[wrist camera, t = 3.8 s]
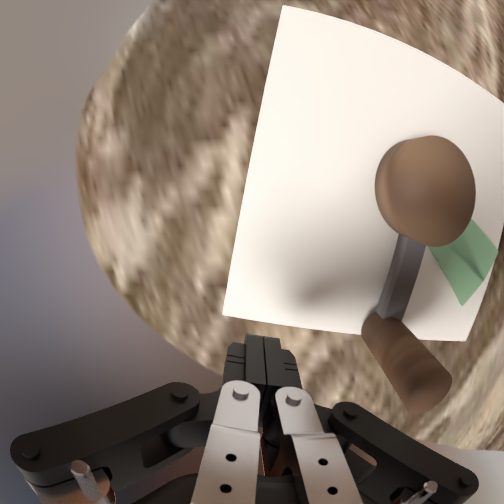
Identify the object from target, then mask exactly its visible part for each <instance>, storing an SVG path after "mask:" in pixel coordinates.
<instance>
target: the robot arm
mask: <svg viewBox="0 0 504 504" xmlns="http://www.w3.org/2000/svg"><path fill="white" fill-rule="evenodd" d="M258 427H263V433H262V435H261V438H260V432H257V430H258ZM259 444H260V446H261V453H262V460H263V467H264V473H265V476H262V475H258V474H257V470H258V458H259ZM352 444H354V445H355V446H357V447H358V448H360V449H361V450H363V451H364V452H366V453H367V454H368V455H370V456H371V457H373V458H374V459H375V460H376V462H377V466H374V465H372V464H370V463H369V462H367V461H366V460H364V459H363V458H361V457H360V456H358V455H357V454H356V453H354V452H353V451H351V450H350V449H349V448H350V446H351V445H352ZM203 446H206V447H205V451H204V454H203V458H202V462H201V466H200V470H199V473H194V474H188V475H184V476H181V477H178V478H176V479H173V480H172V481H169V482H168V483H166V484H164V485H163V486H161V487H160V488H158V489H156V490H155V491H153V492H151V493H150V494H148V495H146V496H144V497H143V498H141V499H139V500H137V501H136V502H134V503H132V504H463V503H464V502H465V501H466V500H467V499H469V498H470V497H471V496H472V495H473V494H474V493H475V492H476V491H477V489H478V486H479V482H478V478H477V476H476V475H475V474H474V473H473V472H472V471H470V470H469V469H466V468H465V467H463V466H461V465H459V464H457V463H455V462H453V461H451V460H450V459H448V458H446V457H444V456H442V455H440V454H439V453H437V452H435V451H433V450H431V449H430V448H428V447H426V446H424V445H423V444H421V443H419V442H417V441H416V440H414V439H412V438H411V437H409V436H407V435H405V434H404V433H402V432H400V431H399V430H397V429H396V428H394V427H392V426H391V425H389V424H387V423H386V422H384V421H383V420H381V419H379V418H378V417H376V416H375V415H373V414H371V413H370V412H368V411H367V410H365V409H364V408H362V407H361V406H359V405H357V404H355V403H352V402H340V403H337V404H336V405H335V406H334V407H333V409H329V408H326V407H322V406H319V405H316V404H314V403H313V401H312V398H311V396H310V395H309V394H308V393H307V392H305V391H304V390H303V389H302V385H301V381H300V376H299V372H298V368H297V365H296V360H295V357H294V355H293V354H292V353H291V352H290V351H289V350H284V349H281V345H280V339H279V338H273V337H266V336H263V337H262V336H259V335H253V334H246V336H245V341H244V344H241V343H235V342H233V343H232V344H231V345H230V346H229V347H228V350H227V356H226V361H225V367H224V372H223V380H222V387H221V388H220V389H219V390H217V391H215V392H213V393H207V394H199V392H198V390H197V389H195V388H194V387H193V386H191V385H189V384H186V383H181V382H173V383H169V384H166V385H164V386H161V387H159V388H156V389H154V390H152V391H149V392H147V393H144V394H142V395H139V396H137V397H134V398H132V399H130V400H127V401H124V402H122V403H119V404H117V405H114V406H111V407H109V408H105V409H103V410H100V411H97V412H94V413H91V414H88V415H86V416H83V417H80V418H77V419H73V420H70V421H68V422H64V423H61V424H58V425H54V426H51V427H48V428H44V429H41V430H38V431H34V432H30V433H27V434H23V435H20V436H18V437H17V438H15V439H14V441H13V442H12V444H11V447H10V454H11V457H12V459H13V461H14V463H15V464H16V466H17V467H18V468H19V470H20V471H21V474H22V475H23V477H24V478H25V480H26V481H27V482H28V484H29V485H30V486H31V488H32V489H33V490H34V491H35V493H36V494H37V495H38V497H39V499H40V500H41V502H42V504H115V494H114V492H116V491H118V490H120V489H122V488H125V487H127V486H129V485H131V484H133V483H135V482H137V481H139V480H141V479H143V478H145V477H147V476H149V475H151V474H153V473H154V472H156V471H158V470H160V469H162V468H164V467H165V466H167V465H169V464H171V463H172V462H174V461H176V460H178V459H179V458H181V457H183V456H184V455H186V454H188V453H189V452H191V451H192V450H193V449H194V447H203Z"/></svg>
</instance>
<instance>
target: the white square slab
mask: <svg viewBox="0 0 504 504" xmlns="http://www.w3.org/2000/svg"><path fill="white" fill-rule="evenodd" d="M430 135H433V136H440V137H443V138H446V139H448V140H450V141H451V142H453V143H454V144H455V145H456V146H457V147H458V148H459V149H460V150H461V151H462V152H463V153H464V155H465V156H466V158H467V160H468V162H469V164H470V166H471V169H472V171H473V175H474V179H475V186H476V200H475V207H474V211H473V215H472V217H471V220H470V222H469V224H468V226H467V228H466V229H465V231H464V232H463V233H462V234H461V235H460V236H459V237H458V238H457V239H456V240H455V241H453V242H451V243H450V244H447V245H445V246H440V247H431V246H426V248H425V252H424V255H423V259H422V262H421V266H420V269H419V272H418V276H417V279H416V282H415V285H414V288H413V291H412V294H411V297H410V300H409V303H408V305H407V308H406V311H405V314H404V316H403V319H402V322H403V323H404V325H405V326H406V327H407V328H408V329H409V330H410V331H411V332H412V333H413V334H414V335H415V336H416V337H417V338H418V339H424V340H445V341H466V339H467V336H468V334H469V332H470V330H471V327H472V325H473V322H474V320H475V318H476V315H477V312H478V310H479V307H480V305H481V302H482V299H483V296H484V293H485V291H486V288H487V285H488V281H489V278H490V275H491V272H492V268H493V265H494V261H495V259H496V256H497V254H498V252H499V251H498V246H499V242H500V238H501V233H502V229H503V224H504V103H503V102H501V101H500V100H499V99H497V98H496V97H495V96H493V95H492V94H491V93H489V92H488V91H486V90H485V89H484V88H482V87H481V86H479V85H478V84H476V83H475V82H473V81H472V80H470V79H469V78H467V77H466V76H464V75H463V74H461V73H459V72H458V71H456V70H454V69H453V68H451V67H449V66H448V65H446V64H444V63H442V62H440V61H439V60H437V59H435V58H433V57H431V56H429V55H427V54H425V53H424V52H422V51H420V50H418V49H415V48H413V47H411V46H409V45H407V44H405V43H403V42H400V41H398V40H396V39H394V38H391V37H389V36H386V35H384V34H381V33H379V32H376V31H374V30H371V29H368V28H366V27H363V26H360V25H357V24H354V23H351V22H348V21H345V20H342V19H338V18H335V17H331V16H328V15H324V14H320V13H316V12H312V11H308V10H304V9H299V8H295V7H290V6H285V5H283V7H282V12H281V16H280V21H279V25H278V29H277V34H276V39H275V43H274V48H273V52H272V57H271V62H270V66H269V71H268V76H267V80H266V85H265V90H264V95H263V100H262V104H261V109H260V114H259V119H258V124H257V129H256V134H255V139H254V144H253V149H252V154H251V159H250V164H249V170H248V175H247V180H246V185H245V191H244V196H243V201H242V207H241V212H240V217H239V223H238V228H237V234H236V239H235V245H234V250H233V256H232V261H231V267H230V273H229V279H228V284H227V290H226V296H225V302H224V308H223V314H222V315H227V316H232V317H238V318H243V319H249V320H255V321H261V322H268V323H274V324H281V325H287V326H294V327H302V328H309V329H317V330H325V331H333V332H342V333H351V334H360V335H361V328H362V325H363V323H364V321H365V320H366V318H367V317H368V316H369V315H370V314H372V313H373V312H375V311H376V309H377V306H378V303H379V300H380V297H381V294H382V291H383V288H384V285H385V282H386V278H387V275H388V272H389V268H390V265H391V261H392V258H393V254H394V251H395V247H396V243H397V239H398V235H399V234H398V233H397V232H395V231H394V230H393V229H392V228H391V227H390V226H389V225H388V224H387V223H386V222H385V220H384V219H383V217H382V215H381V213H380V211H379V209H378V205H377V202H376V197H375V176H376V172H377V168H378V165H379V163H380V161H381V159H382V157H383V156H384V154H385V153H386V152H387V151H388V150H389V149H390V148H391V147H392V146H393V145H395V144H397V143H399V142H401V141H404V140H409V139H414V138H419V137H424V136H430Z"/></svg>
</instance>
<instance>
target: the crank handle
mask: <svg viewBox="0 0 504 504" xmlns="http://www.w3.org/2000/svg"><path fill="white" fill-rule="evenodd" d="M375 197H376V202H377V205H378V209H379V211H380V213H381V215H382V217H383V219H384V220H385V222H386V223H387V224H388V225H389V226H390V227H391V228H392V229H393V230H394V231H395V232H397V233H398V234H399V235H398V239H397V243H396V247H395V251H394V254H393V258H392V261H391V265H390V268H389V272H388V275H387V278H386V282H385V285H384V288H383V291H382V294H381V297H380V300H379V303H378V306H377V309H376V311H375V312H373V313H372V314H370V315H369V316H368V317H367V318H366V320H365V321H364V323H363V325H362V328H361V335H362V338H363V340H364V341H365V343H366V344H367V346H368V347H369V349H370V351H371V352H372V354H373V355H374V357H375V358H376V360H377V362H378V363H379V365H380V366H381V368H382V370H383V371H384V373H385V374H386V376H387V378H388V379H389V381H390V382H391V384H392V386H393V387H394V389H395V391H396V392H397V394H398V396H399V397H400V399H401V401H402V402H403V404H404V406H405V407H406V409H407V411H408V412H409V413H412V414H420V413H424V412H426V411H428V410H430V409H432V408H433V407H435V406H436V405H437V404H438V403H440V402H441V401H442V399H443V398H444V397H445V396H446V394H447V393H448V391H449V389H450V387H451V384H452V377H451V375H450V374H449V372H448V371H447V370H446V369H445V368H444V367H443V366H442V365H441V363H440V362H439V361H438V360H437V359H436V358H435V357H434V356H433V355H432V353H431V352H430V351H429V350H428V349H427V348H426V347H425V346H424V345H423V344H422V343H421V342H420V340H419V339H418V338H417V337H416V336H415V335H414V334H413V333H412V332H411V331H410V330H409V329H408V328H407V327H406V326H405V325H404V323H403V322H402V319H403V316H404V314H405V311H406V308H407V305H408V303H409V300H410V297H411V294H412V291H413V288H414V285H415V282H416V279H417V276H418V272H419V269H420V266H421V262H422V259H423V255H424V252H425V248H426V246H431V247H440V246H445V245H447V244H450V243H451V242H453V241H455V240H456V239H457V238H458V237H459V236H460V235H461V234H462V233H463V232H464V231H465V229H466V228H467V226H468V224H469V222H470V220H471V217H472V215H473V211H474V207H475V200H476V186H475V179H474V175H473V171H472V169H471V166H470V164H469V162H468V160H467V158H466V156H465V155H464V153H463V152H462V151H461V150H460V149H459V148H458V147H457V146H456V145H455V144H454V143H453V142H451V141H450V140H448V139H446V138H443V137H440V136H433V135H430V136H424V137H419V138H414V139H409V140H404V141H401V142H399V143H397V144H395V145H393V146H392V147H391V148H390V149H389V150H388V151H387V152H386V153H385V154H384V156H383V157H382V159H381V161H380V163H379V165H378V168H377V172H376V176H375Z"/></svg>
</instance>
